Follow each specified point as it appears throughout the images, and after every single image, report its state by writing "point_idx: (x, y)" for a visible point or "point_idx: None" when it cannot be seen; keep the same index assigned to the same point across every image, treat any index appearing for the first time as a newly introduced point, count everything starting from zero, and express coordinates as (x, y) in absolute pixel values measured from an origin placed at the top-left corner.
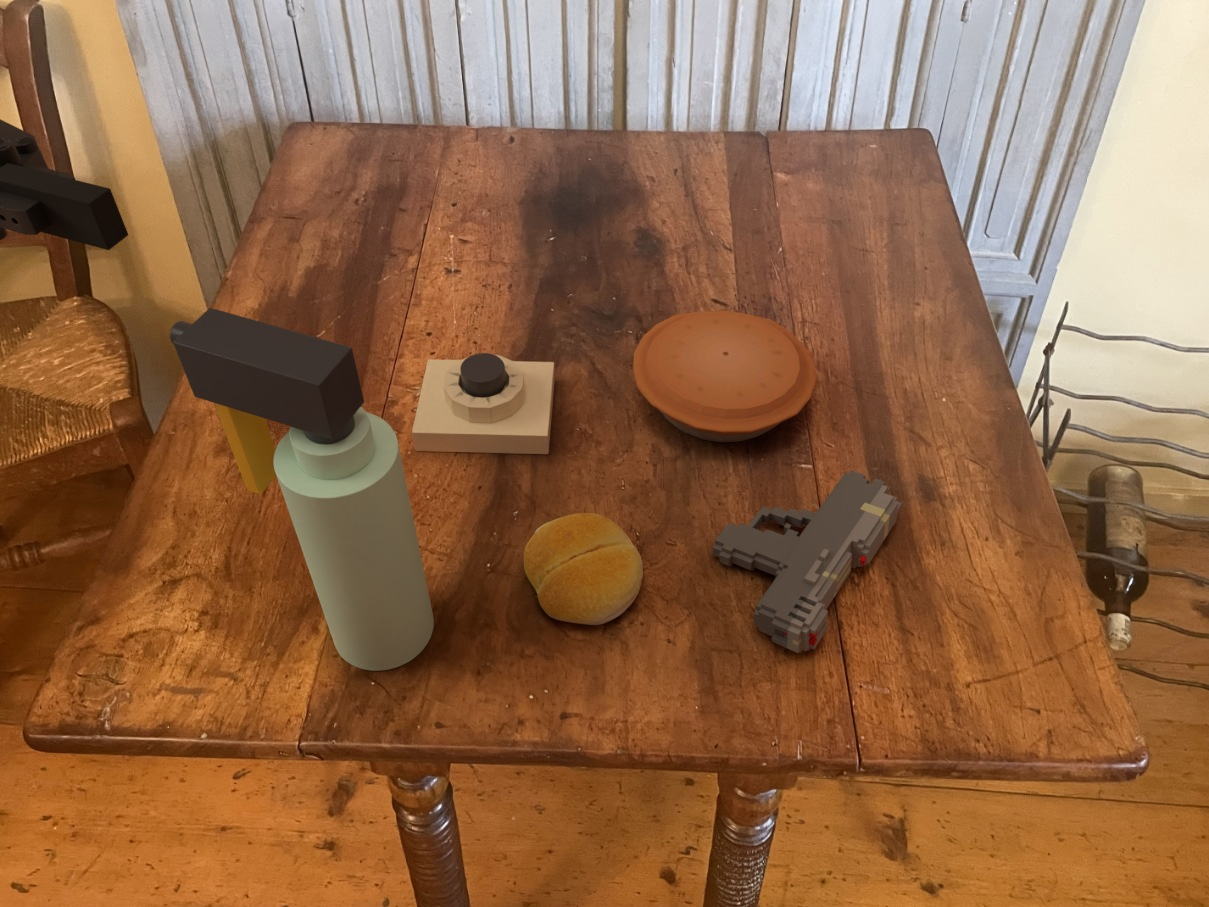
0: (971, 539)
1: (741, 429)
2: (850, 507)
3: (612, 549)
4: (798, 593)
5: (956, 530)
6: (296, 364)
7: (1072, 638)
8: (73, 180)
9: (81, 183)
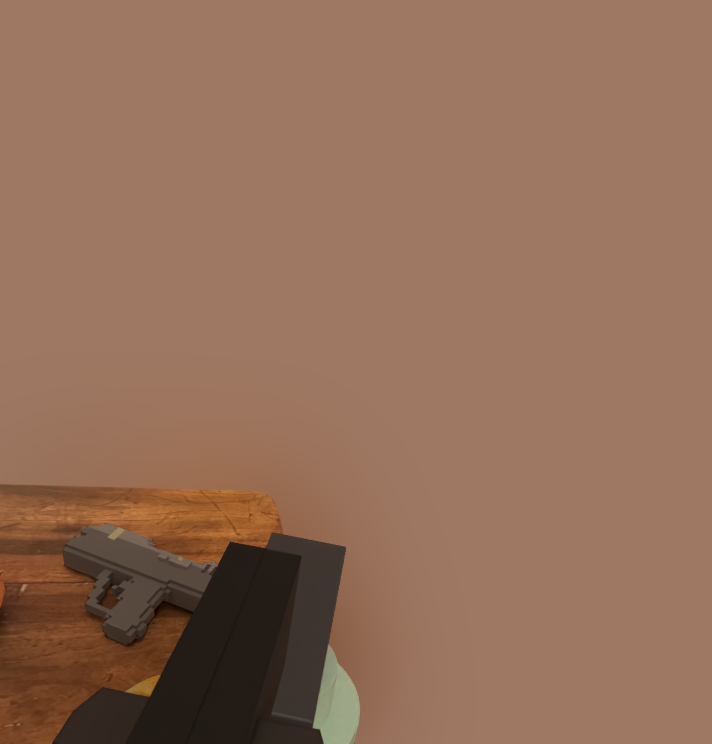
0: (121, 517)
1: (2, 594)
2: (110, 544)
3: (151, 687)
4: (198, 573)
5: (112, 522)
6: (318, 568)
7: (200, 496)
8: (199, 611)
9: (209, 595)
